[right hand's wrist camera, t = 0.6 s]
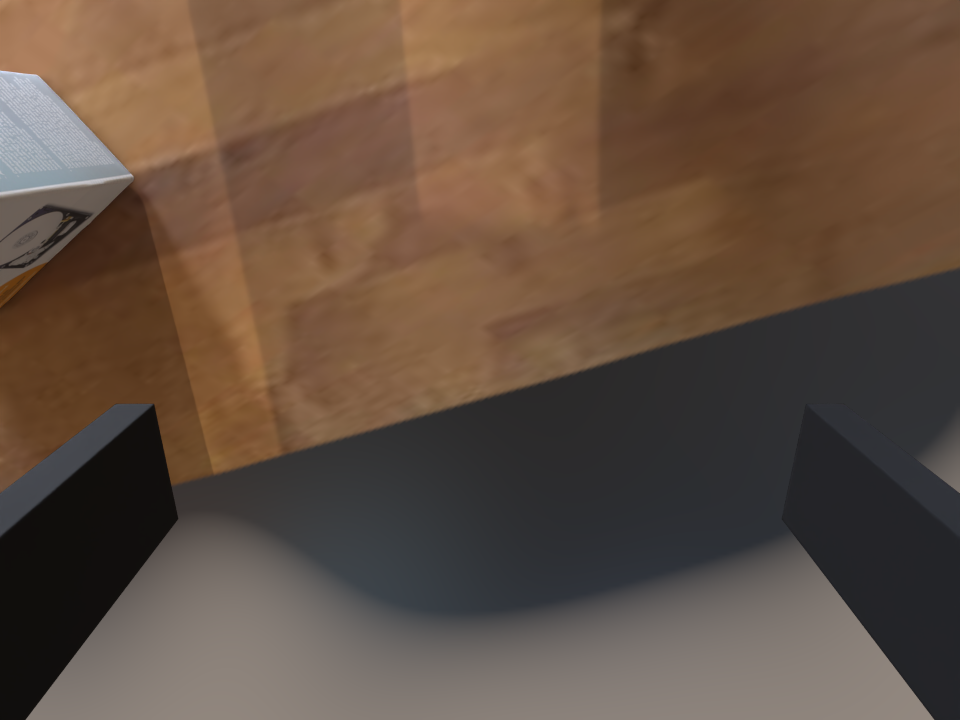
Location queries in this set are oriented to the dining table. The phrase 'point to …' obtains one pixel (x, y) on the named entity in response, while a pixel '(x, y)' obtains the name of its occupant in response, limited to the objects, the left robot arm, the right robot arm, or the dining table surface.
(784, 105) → the dining table surface
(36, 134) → the hard drive box
